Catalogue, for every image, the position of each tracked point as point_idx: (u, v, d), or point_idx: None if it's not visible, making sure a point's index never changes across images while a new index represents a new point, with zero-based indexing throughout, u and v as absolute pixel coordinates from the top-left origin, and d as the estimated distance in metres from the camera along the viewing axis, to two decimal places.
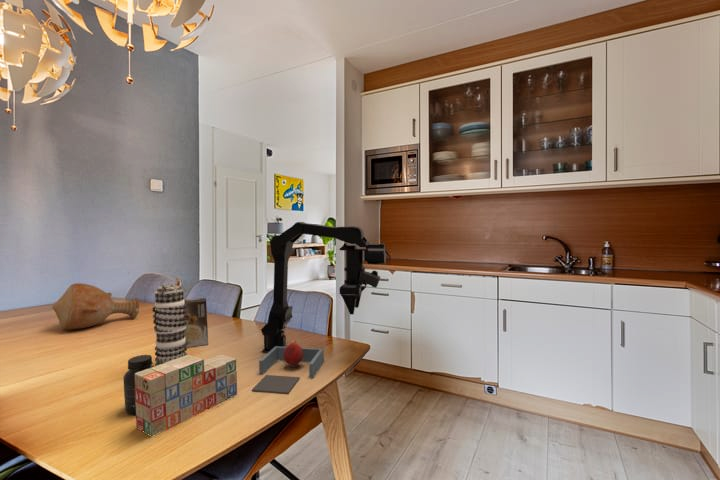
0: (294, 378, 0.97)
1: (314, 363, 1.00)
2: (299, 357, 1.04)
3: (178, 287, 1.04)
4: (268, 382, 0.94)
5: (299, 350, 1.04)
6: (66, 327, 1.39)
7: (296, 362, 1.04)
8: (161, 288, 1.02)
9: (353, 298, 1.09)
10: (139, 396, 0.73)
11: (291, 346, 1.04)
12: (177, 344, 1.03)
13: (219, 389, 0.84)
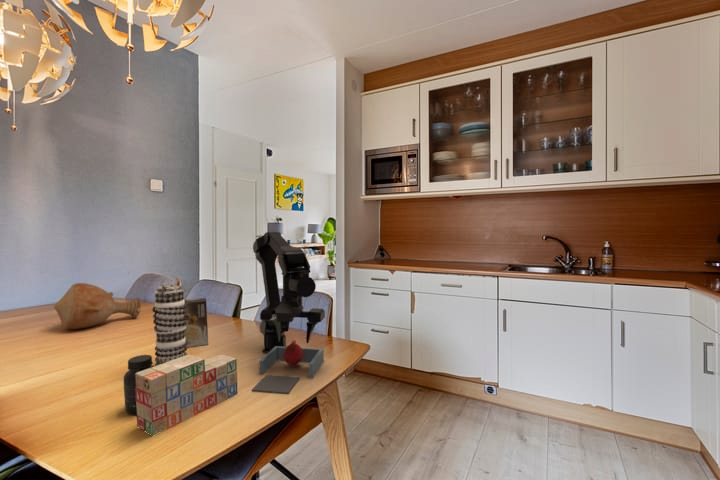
0: (294, 378, 0.97)
1: (314, 363, 1.00)
2: (299, 357, 1.04)
3: (178, 287, 1.04)
4: (268, 382, 0.94)
5: (299, 350, 1.04)
6: (68, 327, 1.40)
7: (296, 362, 1.04)
8: (161, 288, 1.02)
9: None
10: (140, 396, 0.73)
11: (291, 346, 1.04)
12: (177, 344, 1.03)
13: (219, 389, 0.85)
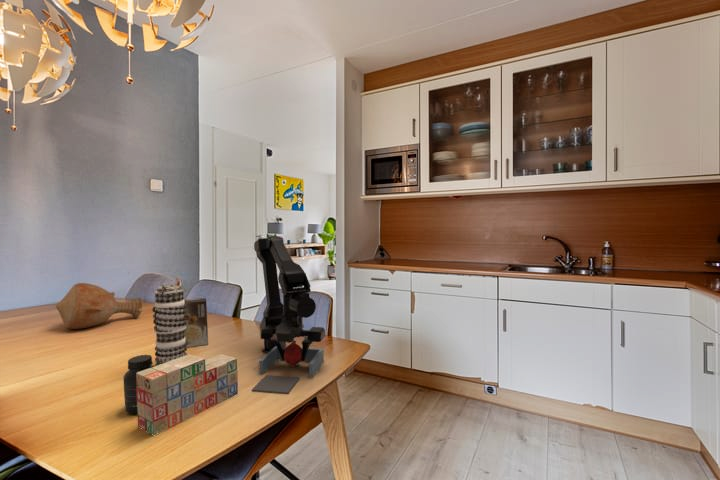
0: (294, 378, 0.97)
1: (314, 363, 1.00)
2: (299, 357, 1.04)
3: (178, 287, 1.04)
4: (268, 382, 0.94)
5: (299, 350, 1.04)
6: (70, 326, 1.40)
7: (296, 362, 1.04)
8: (161, 288, 1.02)
9: None
10: (141, 395, 0.73)
11: (291, 346, 1.04)
12: (177, 344, 1.03)
13: (220, 389, 0.85)
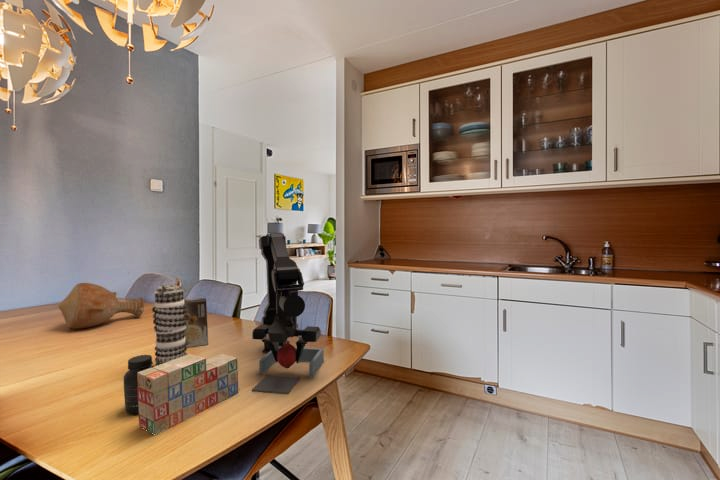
0: (294, 378, 0.97)
1: (314, 363, 1.00)
2: (293, 358, 0.98)
3: (178, 287, 1.04)
4: (268, 382, 0.94)
5: (293, 351, 0.99)
6: (72, 326, 1.40)
7: (290, 363, 0.98)
8: (161, 288, 1.02)
9: None
10: (142, 395, 0.73)
11: (285, 347, 0.99)
12: (177, 344, 1.03)
13: (221, 388, 0.85)
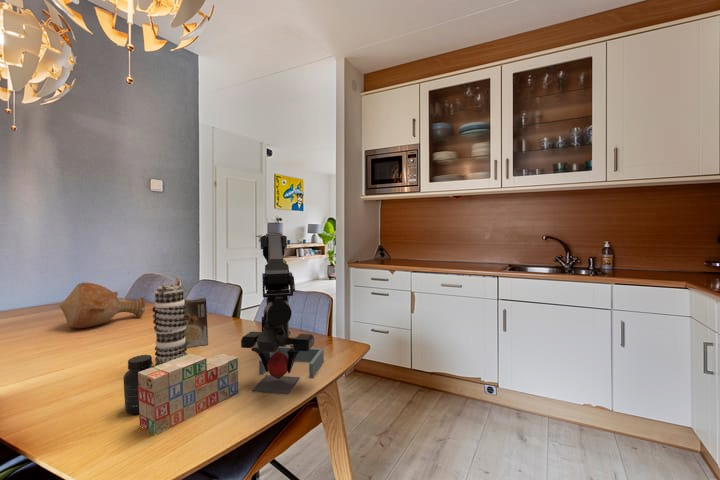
0: (294, 378, 0.97)
1: (314, 363, 1.00)
2: (284, 367, 0.92)
3: (178, 287, 1.04)
4: (268, 382, 0.94)
5: (285, 360, 0.93)
6: (74, 326, 1.41)
7: (281, 374, 0.92)
8: (161, 288, 1.02)
9: None
10: (143, 395, 0.73)
11: (276, 356, 0.92)
12: (177, 344, 1.03)
13: (221, 388, 0.85)
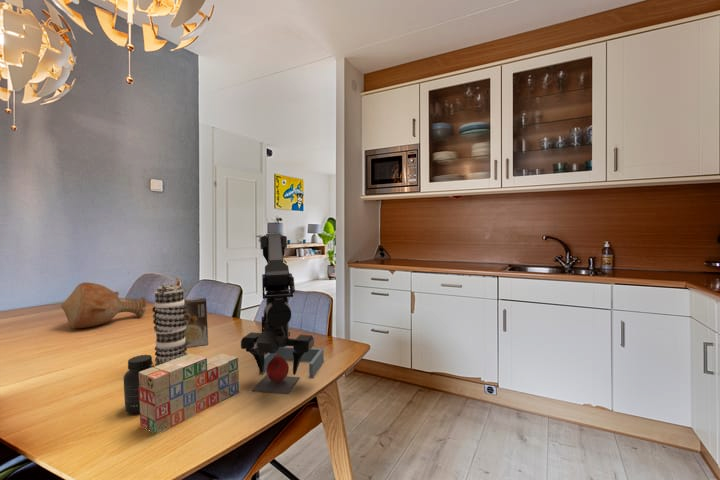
0: (294, 378, 0.97)
1: (314, 363, 1.00)
2: (284, 372, 0.92)
3: (178, 287, 1.04)
4: (268, 382, 0.94)
5: (284, 364, 0.93)
6: (75, 326, 1.41)
7: (281, 378, 0.92)
8: (161, 288, 1.02)
9: None
10: (143, 394, 0.74)
11: (275, 360, 0.92)
12: (177, 344, 1.03)
13: (221, 387, 0.85)
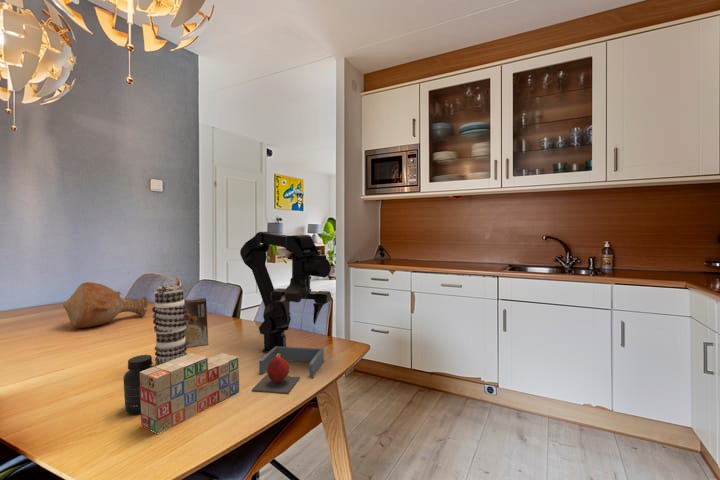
0: (294, 378, 0.97)
1: (314, 363, 1.00)
2: (284, 372, 0.92)
3: (178, 287, 1.04)
4: (268, 382, 0.94)
5: (284, 365, 0.93)
6: (77, 325, 1.42)
7: (281, 378, 0.92)
8: (161, 288, 1.02)
9: None
10: (144, 394, 0.74)
11: (276, 361, 0.92)
12: (177, 344, 1.03)
13: (222, 387, 0.86)
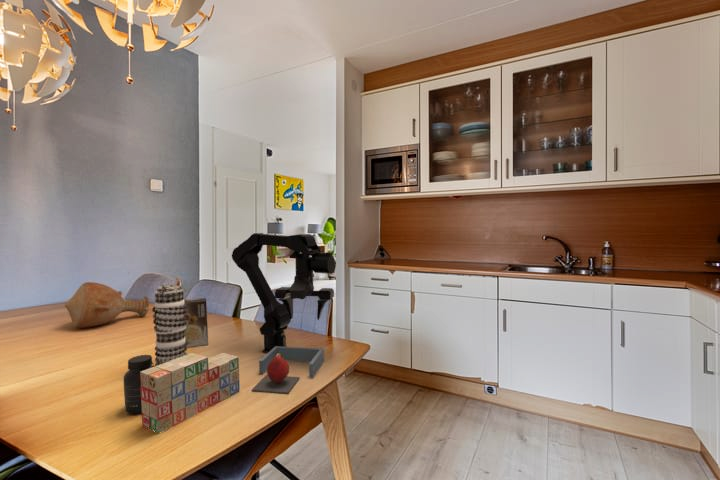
0: (294, 378, 0.97)
1: (314, 363, 1.00)
2: (284, 372, 0.92)
3: (178, 287, 1.04)
4: (268, 382, 0.94)
5: (284, 365, 0.93)
6: (79, 325, 1.42)
7: (281, 378, 0.92)
8: (161, 288, 1.02)
9: None
10: (145, 394, 0.74)
11: (276, 361, 0.92)
12: (177, 344, 1.03)
13: (222, 387, 0.86)
